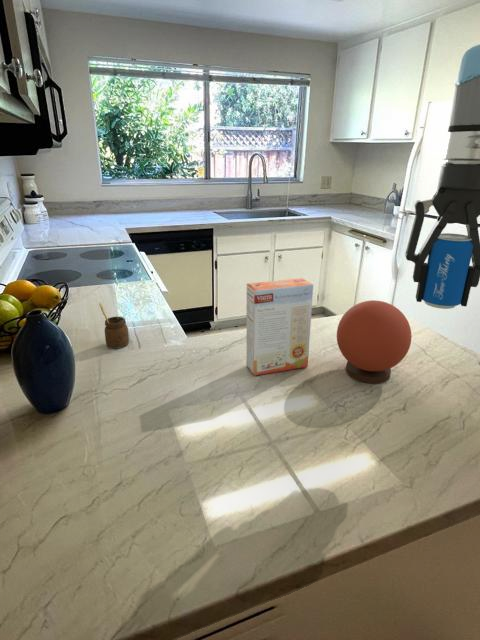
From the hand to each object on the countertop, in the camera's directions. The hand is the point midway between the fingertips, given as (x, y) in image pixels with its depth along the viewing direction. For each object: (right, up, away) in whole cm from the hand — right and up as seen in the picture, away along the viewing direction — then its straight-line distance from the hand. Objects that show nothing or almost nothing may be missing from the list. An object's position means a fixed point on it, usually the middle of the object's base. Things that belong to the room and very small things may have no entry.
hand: (440, 301), depth 71 cm
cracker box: (-27, -15, +25) cm, 40 cm away
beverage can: (0, -1, 0) cm, 1 cm away
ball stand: (-6, -16, +23) cm, 28 cm away
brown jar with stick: (-68, -10, +36) cm, 78 cm away
